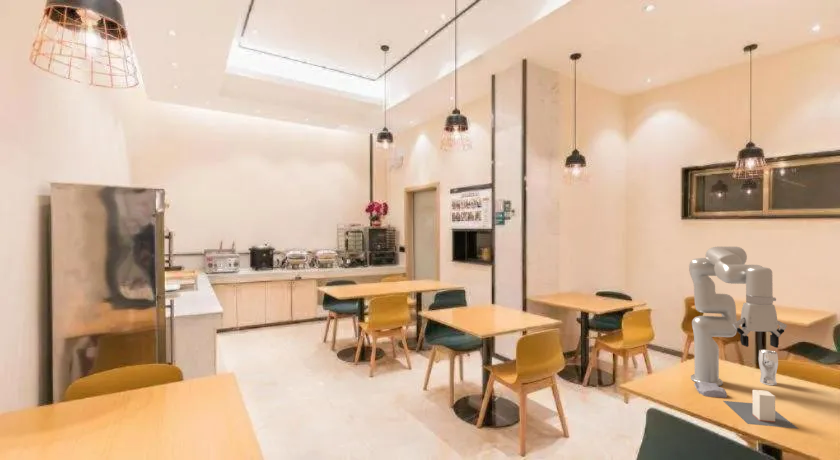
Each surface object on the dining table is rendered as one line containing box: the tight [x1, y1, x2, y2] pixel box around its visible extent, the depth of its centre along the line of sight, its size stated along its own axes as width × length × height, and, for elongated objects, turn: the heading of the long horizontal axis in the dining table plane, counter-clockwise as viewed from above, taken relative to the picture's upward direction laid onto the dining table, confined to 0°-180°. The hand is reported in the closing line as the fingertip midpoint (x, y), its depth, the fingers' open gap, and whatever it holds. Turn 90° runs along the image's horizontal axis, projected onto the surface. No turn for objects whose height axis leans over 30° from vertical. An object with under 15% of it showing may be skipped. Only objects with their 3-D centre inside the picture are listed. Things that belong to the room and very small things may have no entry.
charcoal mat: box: [722, 400, 799, 430], centre depth 159 cm, size 20×16×1 cm
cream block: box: [752, 389, 776, 422], centre depth 155 cm, size 5×5×10 cm
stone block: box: [693, 382, 728, 399], centre depth 179 cm, size 12×5×10 cm
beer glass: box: [758, 349, 779, 386], centre depth 189 cm, size 7×7×15 cm
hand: (759, 346), depth 148 cm, fingers open, 9 cm apart
